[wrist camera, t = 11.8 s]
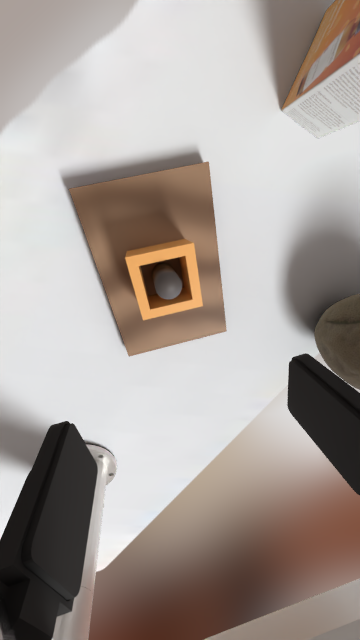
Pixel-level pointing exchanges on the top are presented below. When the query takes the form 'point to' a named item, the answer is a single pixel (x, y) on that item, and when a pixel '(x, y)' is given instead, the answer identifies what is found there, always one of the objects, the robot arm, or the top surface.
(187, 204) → the board
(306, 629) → the robot arm
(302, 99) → the small box
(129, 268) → the orange square ring
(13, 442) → the top surface
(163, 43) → the top surface
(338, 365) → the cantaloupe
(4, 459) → the top surface
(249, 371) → the top surface
